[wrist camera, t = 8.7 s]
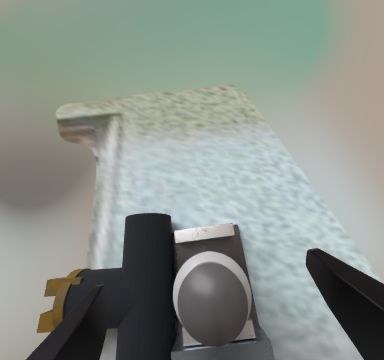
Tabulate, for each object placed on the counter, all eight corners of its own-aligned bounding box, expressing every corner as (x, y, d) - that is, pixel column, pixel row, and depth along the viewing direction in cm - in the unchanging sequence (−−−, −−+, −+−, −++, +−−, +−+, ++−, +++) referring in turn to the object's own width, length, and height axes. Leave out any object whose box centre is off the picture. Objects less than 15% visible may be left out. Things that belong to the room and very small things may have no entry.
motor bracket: (271, 390, 16) (296, 443, 12) (183, 399, 16) (174, 454, 12) (236, 225, 22) (244, 218, 17) (171, 233, 22) (161, 229, 17)
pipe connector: (9, 431, 13) (54, 220, 18) (63, 381, 18) (86, 226, 23) (168, 425, 12) (165, 211, 18) (178, 375, 17) (174, 219, 23)
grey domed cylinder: (240, 291, 19) (279, 339, 8) (197, 308, 18) (183, 380, 8) (221, 244, 20) (235, 239, 10) (182, 260, 20) (155, 270, 10)
